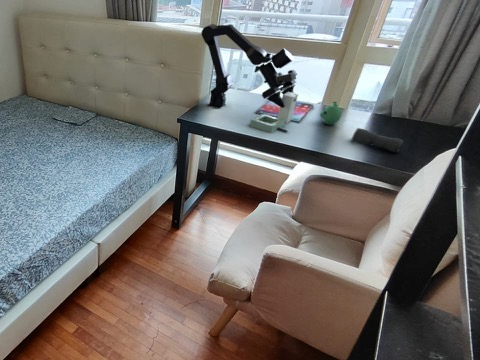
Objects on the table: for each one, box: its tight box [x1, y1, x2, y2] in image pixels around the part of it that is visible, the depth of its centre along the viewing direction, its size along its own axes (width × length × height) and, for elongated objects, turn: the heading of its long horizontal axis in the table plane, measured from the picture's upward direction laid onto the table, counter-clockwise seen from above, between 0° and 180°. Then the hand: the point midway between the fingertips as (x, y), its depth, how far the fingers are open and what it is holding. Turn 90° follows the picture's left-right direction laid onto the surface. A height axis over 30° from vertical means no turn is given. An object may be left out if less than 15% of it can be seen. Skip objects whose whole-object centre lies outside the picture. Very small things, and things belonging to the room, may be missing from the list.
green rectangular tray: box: [249, 114, 288, 134], centre depth 161 cm, size 14×10×3 cm
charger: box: [278, 92, 299, 124], centre depth 164 cm, size 4×4×12 cm
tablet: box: [255, 100, 314, 123], centre depth 178 cm, size 19×25×1 cm
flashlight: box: [351, 127, 404, 153], centre depth 143 cm, size 15×5×5 cm, turn 42°
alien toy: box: [319, 100, 342, 126], centre depth 160 cm, size 7×8×10 cm
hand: (288, 104), depth 163 cm, fingers open, 9 cm apart
